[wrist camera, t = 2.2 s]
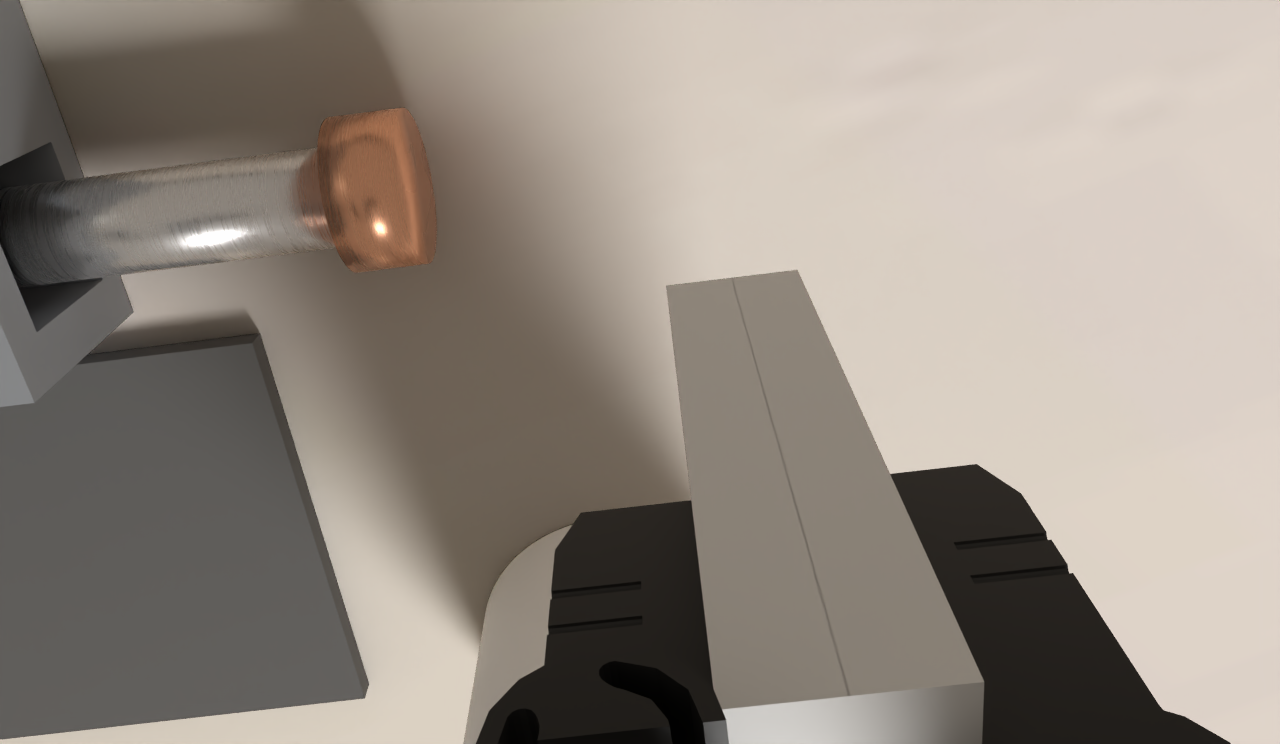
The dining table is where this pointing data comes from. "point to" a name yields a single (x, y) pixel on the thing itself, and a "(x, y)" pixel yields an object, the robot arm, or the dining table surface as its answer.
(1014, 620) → the robot arm
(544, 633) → the cup
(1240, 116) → the dining table surface
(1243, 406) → the dining table surface
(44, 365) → the frame
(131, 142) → the dining table surface
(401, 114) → the plunger
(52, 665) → the mat
